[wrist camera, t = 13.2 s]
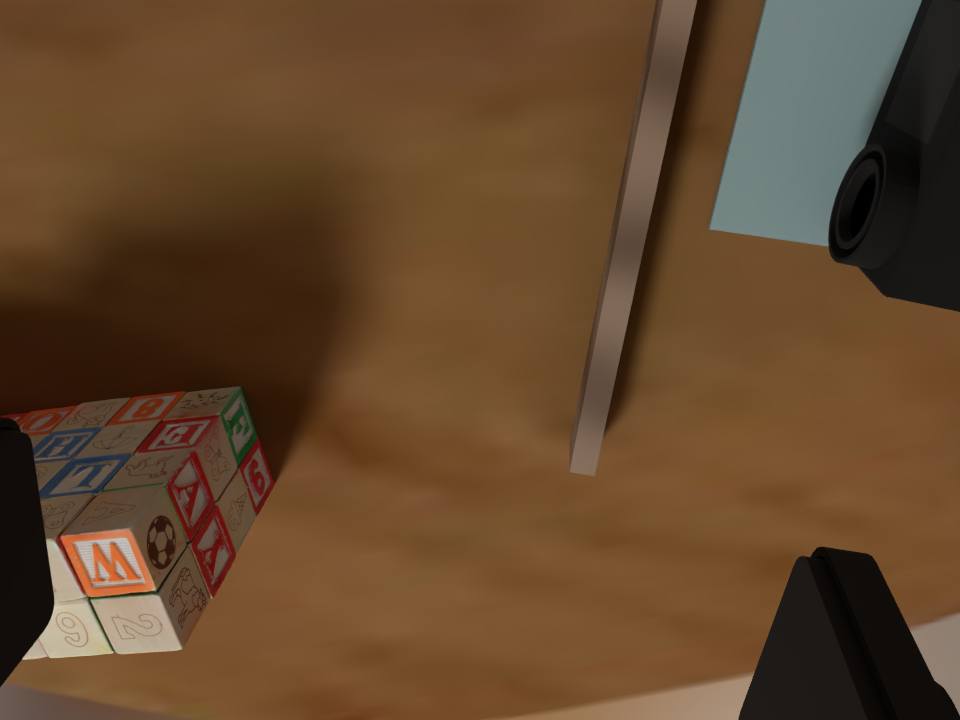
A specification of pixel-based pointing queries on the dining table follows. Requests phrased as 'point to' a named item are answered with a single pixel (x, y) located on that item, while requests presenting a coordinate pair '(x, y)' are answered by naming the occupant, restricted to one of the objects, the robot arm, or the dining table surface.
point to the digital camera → (910, 173)
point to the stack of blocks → (142, 514)
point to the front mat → (807, 112)
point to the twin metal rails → (630, 225)
